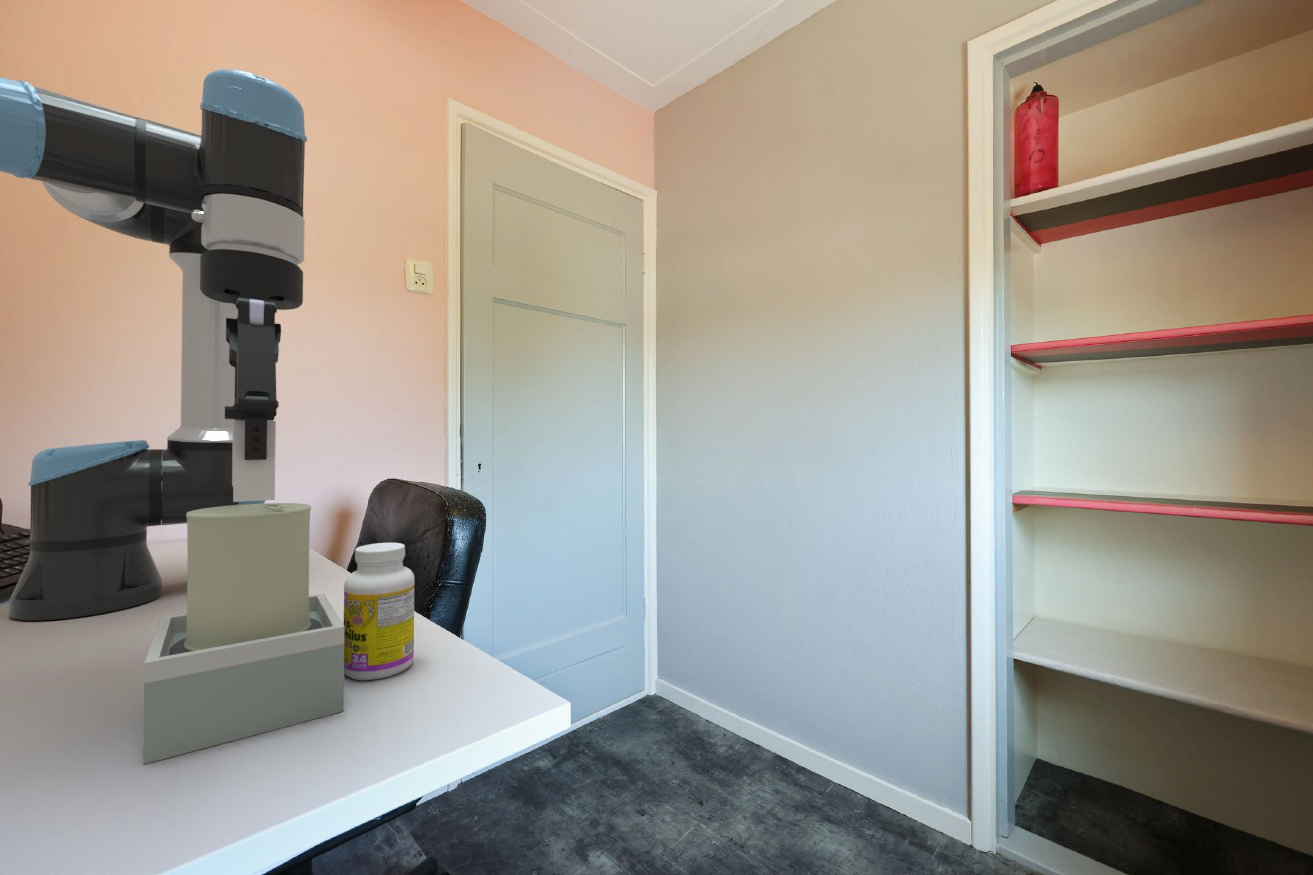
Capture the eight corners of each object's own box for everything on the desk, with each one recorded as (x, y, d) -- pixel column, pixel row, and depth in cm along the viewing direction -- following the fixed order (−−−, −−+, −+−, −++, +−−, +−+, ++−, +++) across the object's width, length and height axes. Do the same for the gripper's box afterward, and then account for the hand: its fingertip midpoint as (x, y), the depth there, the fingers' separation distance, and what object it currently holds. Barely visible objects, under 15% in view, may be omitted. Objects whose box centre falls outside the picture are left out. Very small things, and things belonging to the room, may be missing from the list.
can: (245, 659, 44) (246, 511, 44) (154, 650, 46) (156, 508, 46) (334, 622, 53) (335, 499, 53) (255, 615, 55) (256, 497, 55)
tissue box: (160, 697, 51) (161, 616, 51) (323, 662, 59) (323, 593, 59) (143, 764, 40) (144, 662, 40) (343, 711, 48) (344, 626, 48)
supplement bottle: (333, 668, 57) (334, 546, 57) (398, 651, 62) (399, 538, 62) (356, 689, 53) (357, 556, 53) (424, 668, 57) (425, 546, 58)
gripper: (205, 279, 57) (202, 481, 57) (193, 204, 37) (190, 513, 38) (291, 292, 62) (288, 479, 62) (320, 231, 42) (317, 505, 42)
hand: (251, 492), depth 50 cm, fingers open, 13 cm apart
